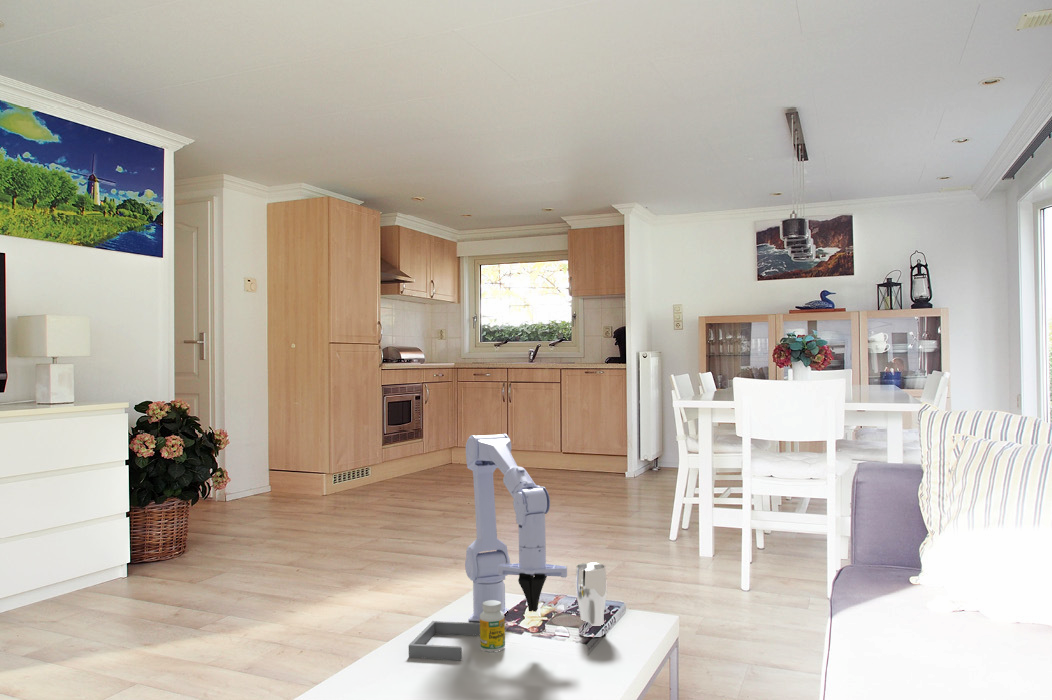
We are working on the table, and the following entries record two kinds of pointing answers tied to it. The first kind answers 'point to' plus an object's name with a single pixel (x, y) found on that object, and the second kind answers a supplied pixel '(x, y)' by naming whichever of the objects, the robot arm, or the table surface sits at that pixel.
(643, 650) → the table surface
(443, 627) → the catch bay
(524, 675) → the table surface
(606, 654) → the table surface
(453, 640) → the table surface
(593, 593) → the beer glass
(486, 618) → the supplement bottle
